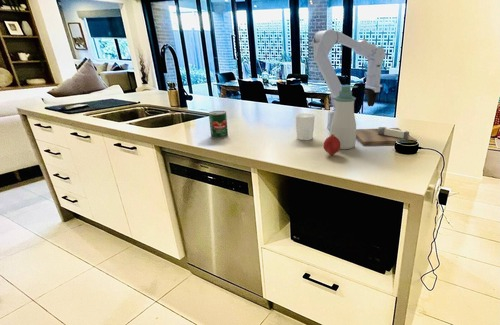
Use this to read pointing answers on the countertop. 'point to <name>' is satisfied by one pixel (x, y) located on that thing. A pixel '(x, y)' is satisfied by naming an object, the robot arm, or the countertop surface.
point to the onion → (332, 145)
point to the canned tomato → (218, 124)
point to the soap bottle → (344, 118)
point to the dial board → (377, 137)
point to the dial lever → (393, 132)
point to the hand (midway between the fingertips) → (370, 105)
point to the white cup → (305, 126)
